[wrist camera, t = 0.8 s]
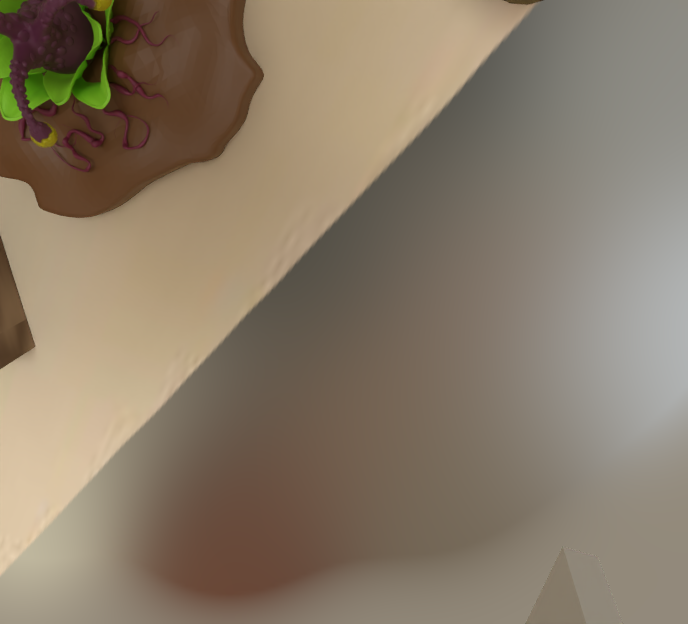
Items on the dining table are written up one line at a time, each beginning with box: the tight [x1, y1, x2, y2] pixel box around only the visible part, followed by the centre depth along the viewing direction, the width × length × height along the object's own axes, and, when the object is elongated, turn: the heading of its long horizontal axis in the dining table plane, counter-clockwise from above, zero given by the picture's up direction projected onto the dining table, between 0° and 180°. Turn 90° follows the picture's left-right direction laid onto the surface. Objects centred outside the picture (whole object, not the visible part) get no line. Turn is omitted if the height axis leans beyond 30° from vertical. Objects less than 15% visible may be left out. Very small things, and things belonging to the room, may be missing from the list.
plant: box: [0, 0, 264, 218], centre depth 31 cm, size 20×20×11 cm
